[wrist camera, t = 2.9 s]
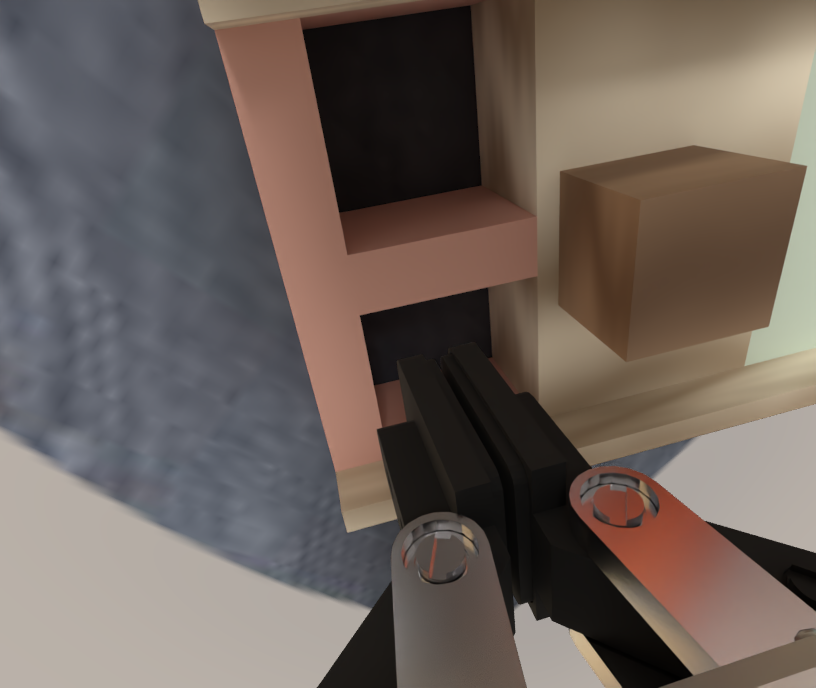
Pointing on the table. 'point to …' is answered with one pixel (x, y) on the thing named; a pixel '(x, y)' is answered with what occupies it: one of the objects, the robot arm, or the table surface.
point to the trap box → (532, 209)
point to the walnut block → (674, 246)
